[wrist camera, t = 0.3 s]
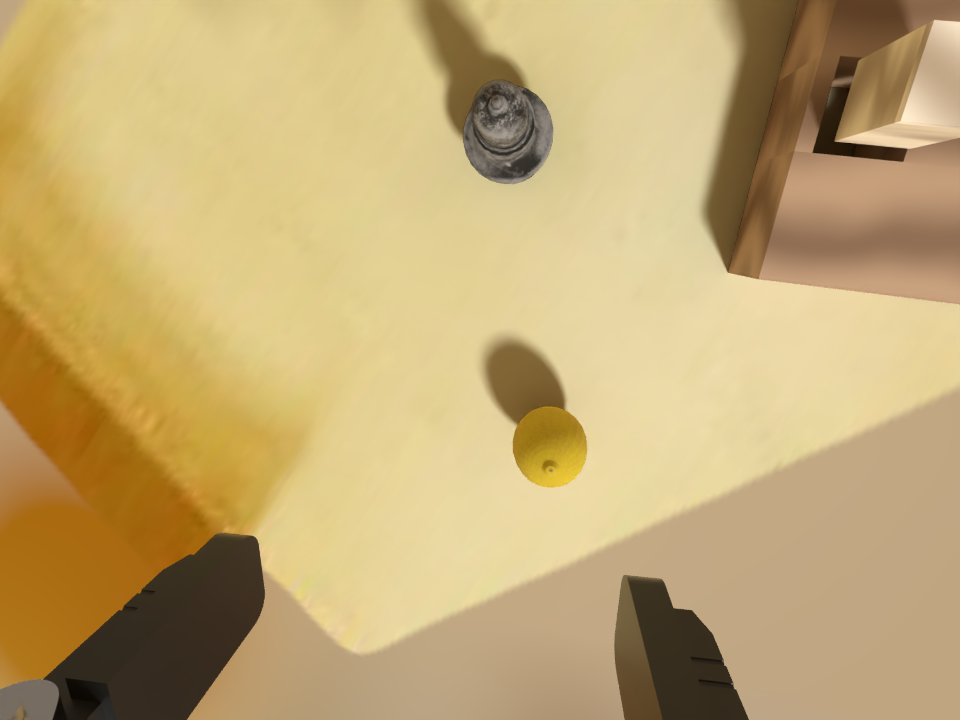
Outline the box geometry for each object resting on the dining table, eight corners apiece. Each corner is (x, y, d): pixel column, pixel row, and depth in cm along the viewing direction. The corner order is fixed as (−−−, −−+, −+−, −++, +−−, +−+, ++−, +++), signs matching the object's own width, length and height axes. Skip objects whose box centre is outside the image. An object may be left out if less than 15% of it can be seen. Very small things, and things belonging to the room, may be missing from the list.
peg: (858, 60, 25) (934, 19, 20) (938, 67, 25) (1034, 27, 20) (834, 141, 26) (900, 120, 21) (910, 148, 26) (995, 129, 21)
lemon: (587, 449, 39) (598, 501, 32) (522, 458, 40) (518, 511, 33) (576, 387, 38) (585, 427, 30) (509, 398, 39) (502, 439, 31)
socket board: (813, -55, 29) (867, -112, 24) (1099, -36, 27) (1218, -94, 23) (727, 272, 34) (758, 279, 29) (962, 301, 33) (1034, 313, 28)
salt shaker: (490, 86, 33) (464, 7, 21) (566, 121, 33) (580, 61, 21) (458, 168, 35) (417, 136, 23) (530, 201, 35) (525, 186, 23)
